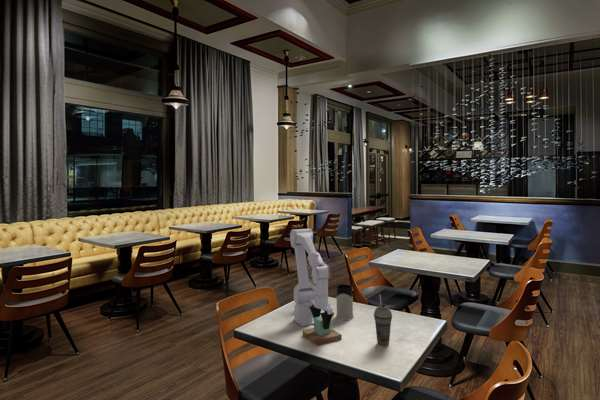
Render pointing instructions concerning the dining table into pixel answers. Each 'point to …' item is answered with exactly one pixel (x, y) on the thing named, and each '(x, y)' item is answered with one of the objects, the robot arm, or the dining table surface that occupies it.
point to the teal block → (320, 326)
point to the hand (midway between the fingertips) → (321, 325)
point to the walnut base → (323, 338)
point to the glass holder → (344, 302)
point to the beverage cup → (383, 324)
